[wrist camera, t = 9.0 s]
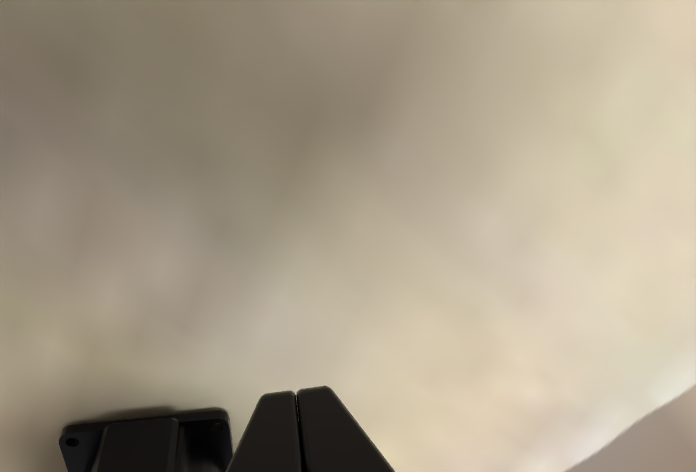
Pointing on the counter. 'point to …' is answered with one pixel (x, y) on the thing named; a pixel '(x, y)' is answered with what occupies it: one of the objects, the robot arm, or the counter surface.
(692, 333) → the counter surface
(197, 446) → the robot arm
